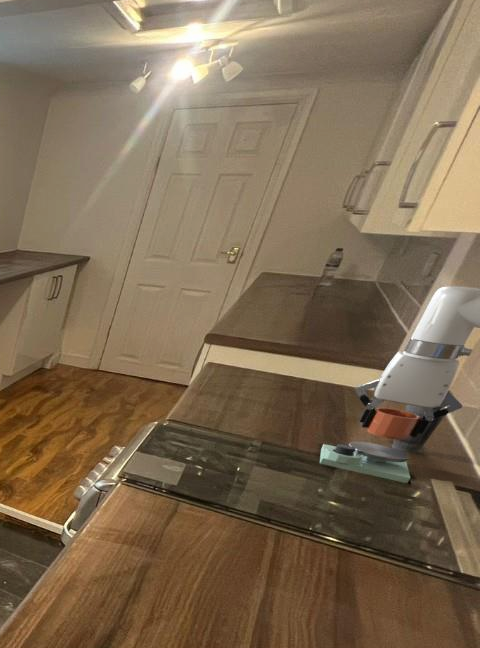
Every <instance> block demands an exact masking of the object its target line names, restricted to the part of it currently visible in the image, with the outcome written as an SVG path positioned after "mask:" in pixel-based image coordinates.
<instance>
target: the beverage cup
mask: <svg viewBox="0 0 480 648" xmlns="http://www.w3.org/2000/svg"><path fill="white" fill-rule="evenodd" d="M448 391H449V392H450V393H451V394H452V395H453V396H454V394H453V393H452V391H451V390H450V389H449V390H448ZM448 405H449V403H448V402H447V401H446V400H445V399H444V400H443V402H442V403H441V404H440V405H439V406H438V407H435V408H432V409H433V411H435V410H438V409H440V408H444V407H446V406H448ZM405 407H406V408H405V411H406V412H410V413H413V414H416V415H418V416H420V417H421V416H422V415H423V414H424V412H423V407H419V406H413V405H407V404H406V406H405ZM446 416H447V415H444V416H441V417H438V418H435V419H433V420H431V421H429V423H428V425H427V427H426V428H425V430H424V432H423V433H422V434H419V433H418V435H417V436H416V438H414V437H412V436H410V437H409V438H406V439H404V440H395V439H393V441H392V442H393V443H392V445H391V448H394V449H397V450H399V451H402V452H405V453H406V452H407V453H412V454H414V453H415V454H418V453H419V452H420V450H421V449H422V448H423V447H424V446H425V444H426V443H427V442H428V440H429V439H430V437H431V436H432V434H433V433H434V432H435V430H436V429H437V428H438V426H439V425H440V423H441V422H442V421H443V420H444V418H445V417H446Z"/></svg>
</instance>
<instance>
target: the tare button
mask: <svg viewBox="0 0 480 648" xmlns="http://www.w3.org/2000/svg"><path fill="white" fill-rule="evenodd" d="M335 447H336V449H335V451H334V452H336V453H339V454H342V455H347V456H352V455H353V453H354V451H355V449H356V448H354V447H352V446H349V444H343V443H339V444H337V445H336V446H335Z"/></svg>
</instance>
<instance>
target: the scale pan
mask: <svg viewBox="0 0 480 648" xmlns="http://www.w3.org/2000/svg"><path fill="white" fill-rule="evenodd" d="M348 445H349V446H352V447H354V448H356V449H355V451H354V452H355V453H357V454H360V455H362V459H364V460H366V461H370V462H373V463H380V464H385V463H386V461H389V462H407V461H408V460H409V458H410V455H409V454H407V453H406V452H405V451H401V450H398V449H395V448H392V447H390V446H386V445H383V444H378V443H374V442H373V443H372V442H364V441H352V442H350V443H348Z"/></svg>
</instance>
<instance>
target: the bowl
mask: <svg viewBox="0 0 480 648" xmlns="http://www.w3.org/2000/svg"><path fill="white" fill-rule="evenodd" d="M420 419H421V417H420V416H418V415H416V414H413V413H410V412H406V410H403V409H397V408H391V407H375V413H374V415H373V416H372V418H371V420H370V422H369V424H368V426H367V427H365V429H366V432H367V433H369V434H371V435H374V436H376V437H380V438H384V439H388V440H389V439H390V440H394V439H395V440H404V439H406V438H409V437H410V436H411V434H412V433H413V431H414V429H415V427H416V426H417V424H418V422H419V420H420Z"/></svg>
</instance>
